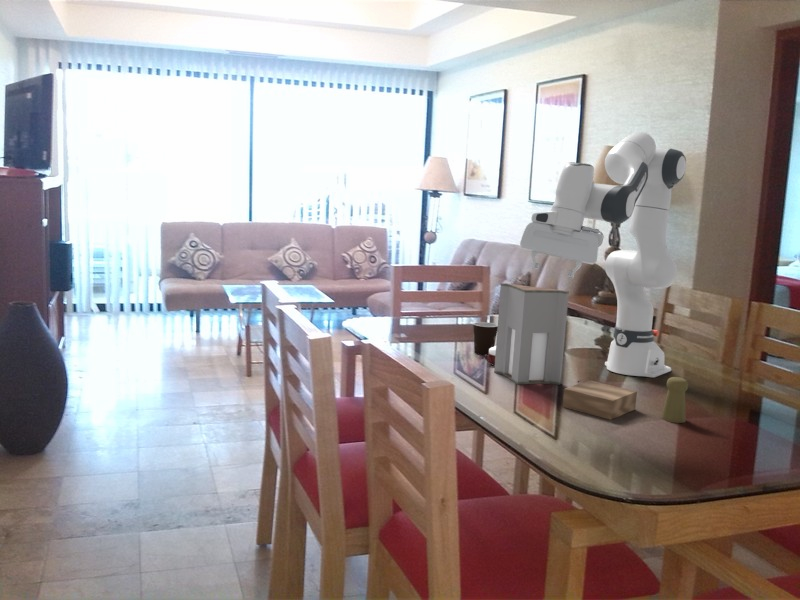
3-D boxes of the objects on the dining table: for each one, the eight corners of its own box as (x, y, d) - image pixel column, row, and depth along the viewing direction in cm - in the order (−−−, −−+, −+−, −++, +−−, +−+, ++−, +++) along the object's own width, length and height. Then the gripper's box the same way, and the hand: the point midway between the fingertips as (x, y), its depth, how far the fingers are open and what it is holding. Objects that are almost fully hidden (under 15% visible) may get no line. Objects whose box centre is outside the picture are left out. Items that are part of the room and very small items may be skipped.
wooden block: (588, 397, 214) (589, 380, 213) (635, 409, 205) (637, 391, 204) (562, 406, 204) (564, 388, 203) (610, 419, 194) (612, 400, 194)
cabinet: (560, 383, 228) (568, 291, 223) (549, 390, 219) (558, 294, 215) (496, 371, 238) (502, 283, 234) (483, 377, 230) (490, 285, 225)
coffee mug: (488, 357, 258) (490, 328, 256) (466, 352, 263) (468, 324, 261) (505, 351, 267) (507, 323, 265) (483, 347, 272) (485, 320, 270)
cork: (656, 418, 198) (661, 377, 196) (667, 414, 202) (672, 373, 200) (679, 424, 194) (683, 382, 192) (689, 420, 198) (694, 378, 196)
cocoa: (486, 367, 244) (488, 331, 242) (482, 362, 250) (483, 326, 248) (515, 367, 245) (517, 330, 243) (510, 361, 251) (512, 326, 249)
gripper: (605, 232, 200) (592, 283, 201) (529, 216, 206) (517, 266, 206) (605, 229, 194) (591, 281, 195) (526, 212, 200) (513, 263, 200)
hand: (552, 273), depth 201 cm, fingers open, 8 cm apart
